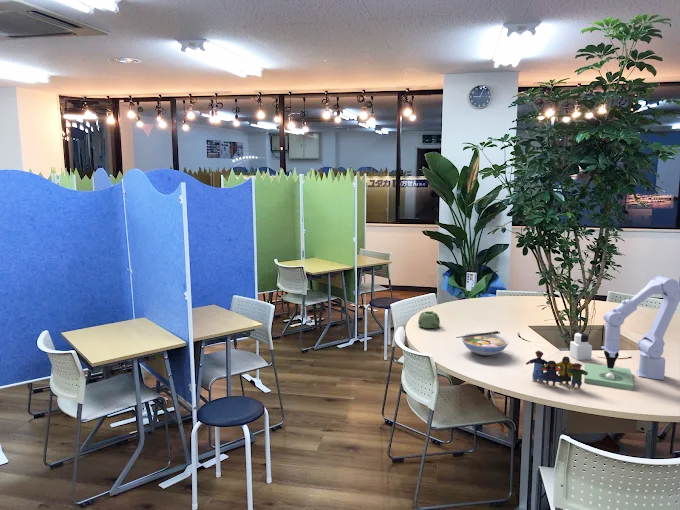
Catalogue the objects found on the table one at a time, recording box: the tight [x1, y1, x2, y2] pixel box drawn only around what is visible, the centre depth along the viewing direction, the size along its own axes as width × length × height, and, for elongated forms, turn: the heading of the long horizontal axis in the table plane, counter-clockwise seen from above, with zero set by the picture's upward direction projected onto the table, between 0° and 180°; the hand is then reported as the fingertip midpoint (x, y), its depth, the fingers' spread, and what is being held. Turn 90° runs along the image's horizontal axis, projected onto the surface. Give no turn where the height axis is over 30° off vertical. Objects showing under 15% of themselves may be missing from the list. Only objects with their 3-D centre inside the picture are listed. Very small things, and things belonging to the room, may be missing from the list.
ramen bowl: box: [456, 330, 509, 356], centre depth 243 cm, size 25×23×8 cm
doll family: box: [525, 350, 588, 391], centre depth 204 cm, size 23×9×13 cm, turn 76°
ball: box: [605, 373, 615, 379], centre depth 207 cm, size 4×4×4 cm
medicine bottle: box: [569, 332, 593, 361], centre depth 235 cm, size 7×7×12 cm
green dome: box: [417, 310, 441, 329], centre depth 292 cm, size 16×13×9 cm
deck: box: [583, 362, 635, 391], centre depth 211 cm, size 18×20×2 cm
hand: (610, 367), depth 215 cm, fingers closed
